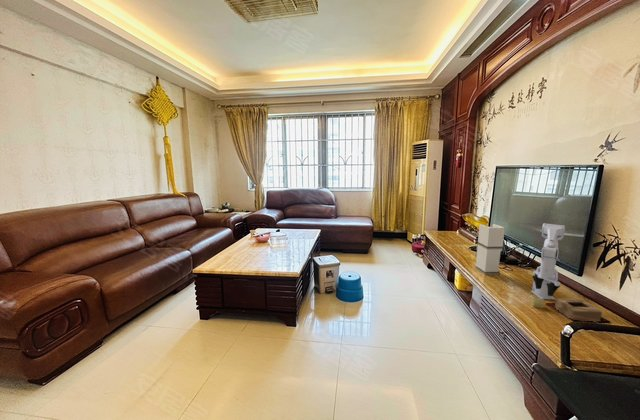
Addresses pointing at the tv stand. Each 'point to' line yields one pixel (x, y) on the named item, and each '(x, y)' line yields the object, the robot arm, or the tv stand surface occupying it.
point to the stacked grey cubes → (489, 249)
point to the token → (537, 302)
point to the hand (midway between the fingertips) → (544, 292)
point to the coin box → (577, 309)
